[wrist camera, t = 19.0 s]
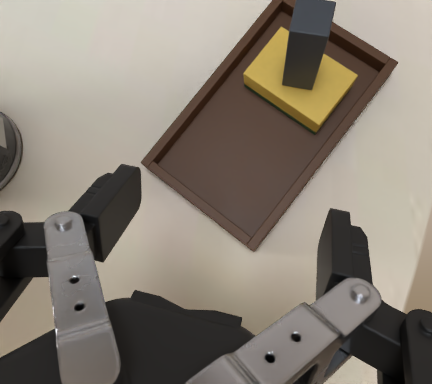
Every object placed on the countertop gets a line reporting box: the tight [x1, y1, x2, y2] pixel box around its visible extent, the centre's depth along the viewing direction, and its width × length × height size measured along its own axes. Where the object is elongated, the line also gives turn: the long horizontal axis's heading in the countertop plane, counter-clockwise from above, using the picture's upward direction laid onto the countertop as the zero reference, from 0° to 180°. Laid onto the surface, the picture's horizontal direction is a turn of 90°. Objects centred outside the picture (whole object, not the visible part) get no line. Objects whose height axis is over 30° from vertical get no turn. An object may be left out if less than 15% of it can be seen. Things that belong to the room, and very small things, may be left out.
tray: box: [141, 0, 398, 252], centre depth 35 cm, size 13×21×2 cm, turn 142°
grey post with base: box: [243, 0, 358, 135], centre depth 31 cm, size 8×6×11 cm
